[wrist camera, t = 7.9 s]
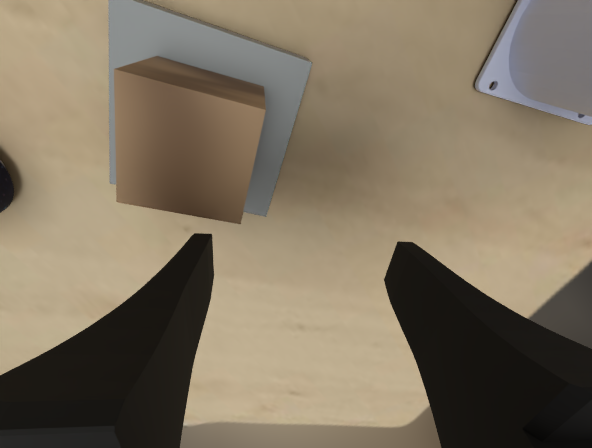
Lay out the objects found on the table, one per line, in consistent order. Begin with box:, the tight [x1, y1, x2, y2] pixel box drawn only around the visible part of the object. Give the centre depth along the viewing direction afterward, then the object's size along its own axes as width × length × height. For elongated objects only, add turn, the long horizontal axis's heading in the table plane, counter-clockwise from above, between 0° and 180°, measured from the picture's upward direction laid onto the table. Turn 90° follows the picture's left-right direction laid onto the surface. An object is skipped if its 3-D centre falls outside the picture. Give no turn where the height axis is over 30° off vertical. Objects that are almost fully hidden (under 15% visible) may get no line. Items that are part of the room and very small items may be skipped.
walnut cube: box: [114, 56, 266, 224], centre depth 14 cm, size 5×5×5 cm
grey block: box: [109, 0, 312, 217], centre depth 17 cm, size 9×9×4 cm
